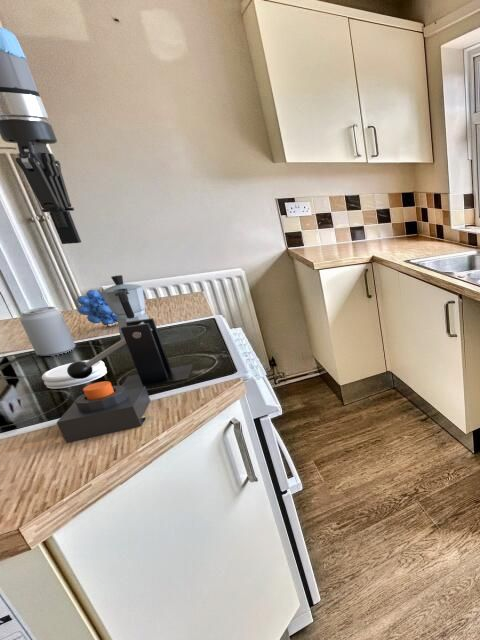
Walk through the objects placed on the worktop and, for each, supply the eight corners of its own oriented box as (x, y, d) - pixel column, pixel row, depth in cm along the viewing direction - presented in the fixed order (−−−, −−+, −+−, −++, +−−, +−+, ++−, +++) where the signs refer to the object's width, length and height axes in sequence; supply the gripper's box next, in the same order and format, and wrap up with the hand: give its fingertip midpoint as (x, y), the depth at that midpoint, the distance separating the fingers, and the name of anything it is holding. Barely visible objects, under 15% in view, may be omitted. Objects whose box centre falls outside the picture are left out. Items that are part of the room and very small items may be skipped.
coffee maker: (119, 335, 123) (95, 275, 117) (157, 328, 128) (136, 270, 122) (119, 349, 113) (93, 283, 106) (160, 340, 118) (138, 277, 111)
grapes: (86, 334, 125) (69, 295, 121) (86, 329, 130) (70, 291, 125) (136, 324, 133) (122, 287, 128) (135, 320, 137) (121, 284, 133)
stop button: (84, 402, 73) (79, 392, 72) (91, 394, 76) (86, 384, 75) (111, 397, 74) (106, 387, 74) (117, 389, 77) (112, 379, 76)
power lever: (76, 385, 85) (58, 372, 83) (83, 378, 88) (65, 366, 86) (152, 335, 88) (136, 322, 86) (156, 330, 91) (140, 318, 89)
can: (40, 352, 112) (19, 309, 108) (78, 345, 117) (60, 303, 112) (35, 360, 107) (13, 315, 102) (75, 352, 111) (56, 309, 107)
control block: (66, 443, 71) (51, 412, 69) (85, 419, 78) (72, 390, 76) (141, 426, 75) (129, 397, 73) (152, 405, 83) (141, 377, 81)
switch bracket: (118, 397, 86) (92, 334, 81) (130, 380, 94) (106, 322, 89) (189, 383, 92) (168, 323, 87) (194, 368, 99) (176, 312, 94)
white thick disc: (105, 368, 100) (99, 355, 99) (112, 380, 94) (106, 366, 93) (45, 384, 93) (38, 369, 92) (49, 397, 87) (42, 382, 86)
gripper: (12, 124, 86) (60, 241, 95) (-24, 115, 75) (34, 248, 84) (61, 125, 89) (104, 238, 98) (34, 116, 79) (84, 244, 87)
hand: (71, 243), depth 91 cm, fingers closed
